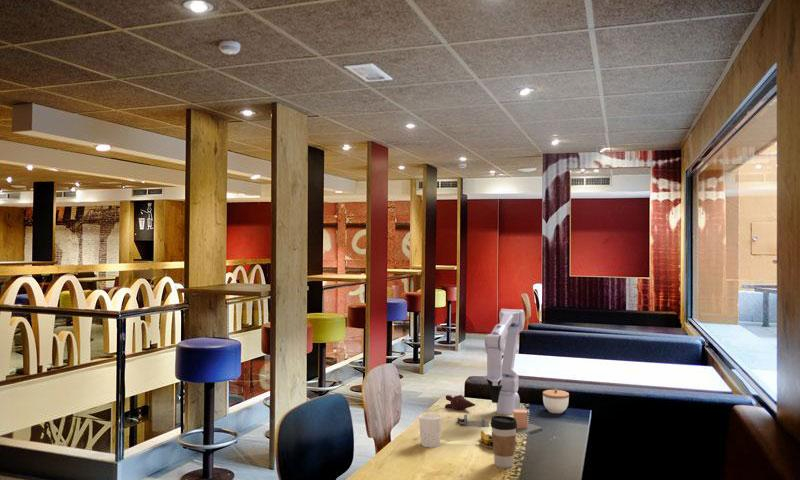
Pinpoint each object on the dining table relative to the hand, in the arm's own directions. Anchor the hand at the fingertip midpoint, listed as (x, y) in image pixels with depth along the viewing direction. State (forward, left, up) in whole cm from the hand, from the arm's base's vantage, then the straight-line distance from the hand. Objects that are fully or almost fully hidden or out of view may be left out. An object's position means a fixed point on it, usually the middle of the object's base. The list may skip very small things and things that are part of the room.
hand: (494, 399), depth 235 cm
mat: (-3, +11, -9) cm, 15 cm away
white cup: (+35, +2, -10) cm, 36 cm away
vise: (+8, -3, -9) cm, 13 cm away
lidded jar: (-33, +4, -10) cm, 35 cm away
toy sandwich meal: (+16, +17, -10) cm, 26 cm away
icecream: (-2, -21, -10) cm, 24 cm away
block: (-3, +11, -8) cm, 14 cm away
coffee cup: (+29, +31, -10) cm, 43 cm away
